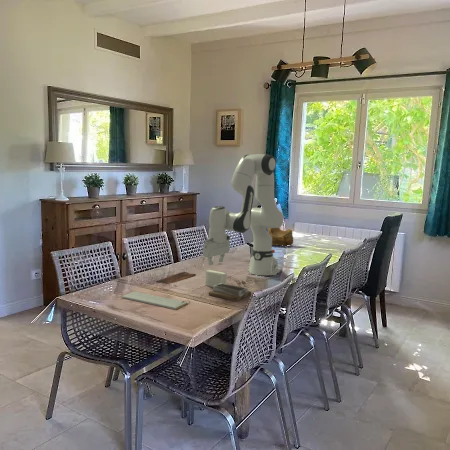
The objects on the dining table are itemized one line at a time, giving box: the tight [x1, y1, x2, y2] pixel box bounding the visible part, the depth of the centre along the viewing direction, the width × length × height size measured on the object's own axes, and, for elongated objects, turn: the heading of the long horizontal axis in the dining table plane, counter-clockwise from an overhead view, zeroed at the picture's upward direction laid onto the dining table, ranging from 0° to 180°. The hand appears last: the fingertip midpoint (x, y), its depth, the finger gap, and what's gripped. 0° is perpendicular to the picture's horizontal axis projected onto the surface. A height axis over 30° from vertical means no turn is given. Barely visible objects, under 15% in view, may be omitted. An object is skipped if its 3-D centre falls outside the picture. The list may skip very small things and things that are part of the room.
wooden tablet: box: [155, 271, 197, 285], centre depth 249 cm, size 26×2×10 cm
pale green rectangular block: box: [205, 269, 227, 288], centre depth 234 cm, size 3×11×8 cm, turn 57°
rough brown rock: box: [267, 227, 294, 246], centre depth 357 cm, size 23×17×15 cm
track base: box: [208, 283, 252, 302], centre depth 221 cm, size 14×16×4 cm
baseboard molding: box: [121, 291, 190, 310], centre depth 209 cm, size 31×3×12 cm
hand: (215, 263), depth 233 cm, fingers open, 8 cm apart
